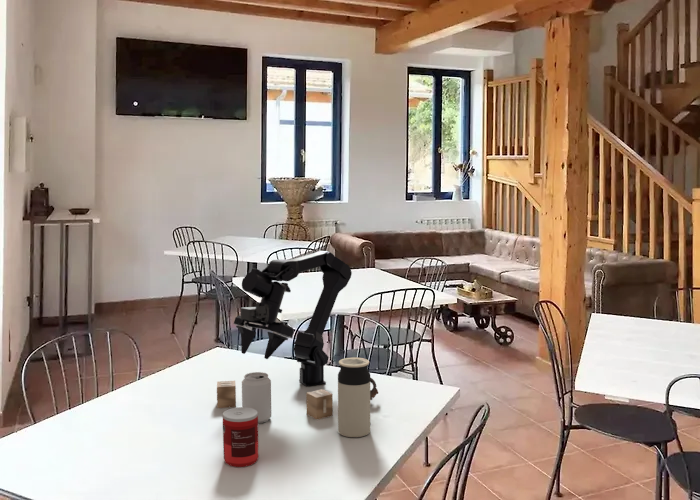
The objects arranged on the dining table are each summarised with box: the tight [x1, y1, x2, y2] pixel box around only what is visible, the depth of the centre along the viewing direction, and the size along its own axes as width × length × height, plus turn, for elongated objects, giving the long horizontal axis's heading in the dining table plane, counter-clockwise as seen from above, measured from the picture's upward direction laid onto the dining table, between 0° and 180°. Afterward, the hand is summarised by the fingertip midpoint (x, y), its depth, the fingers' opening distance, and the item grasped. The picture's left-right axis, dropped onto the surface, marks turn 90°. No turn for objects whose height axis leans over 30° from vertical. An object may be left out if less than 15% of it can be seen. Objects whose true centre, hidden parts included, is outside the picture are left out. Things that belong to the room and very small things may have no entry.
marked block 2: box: [305, 388, 334, 421], centre depth 181 cm, size 5×5×6 cm
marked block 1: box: [216, 380, 237, 409], centre depth 190 cm, size 5×5×6 cm
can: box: [241, 371, 272, 424], centre depth 178 cm, size 8×8×12 cm
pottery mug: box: [370, 377, 379, 401], centre depth 193 cm, size 12×10×8 cm
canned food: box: [222, 406, 259, 468], centre depth 153 cm, size 8×8×11 cm
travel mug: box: [337, 357, 371, 438], centre depth 169 cm, size 8×8×18 cm
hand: (254, 356), depth 190 cm, fingers open, 9 cm apart
